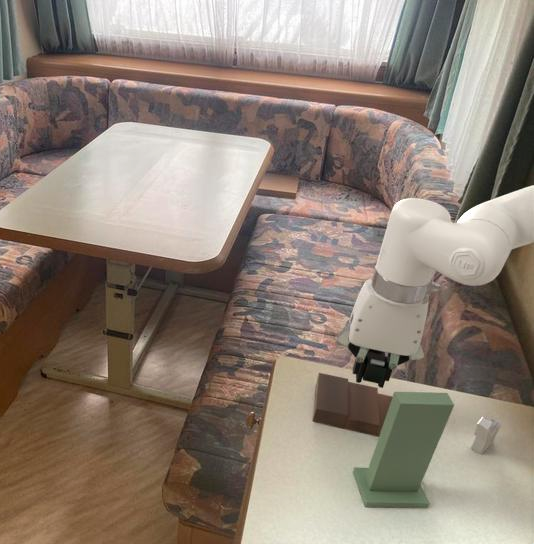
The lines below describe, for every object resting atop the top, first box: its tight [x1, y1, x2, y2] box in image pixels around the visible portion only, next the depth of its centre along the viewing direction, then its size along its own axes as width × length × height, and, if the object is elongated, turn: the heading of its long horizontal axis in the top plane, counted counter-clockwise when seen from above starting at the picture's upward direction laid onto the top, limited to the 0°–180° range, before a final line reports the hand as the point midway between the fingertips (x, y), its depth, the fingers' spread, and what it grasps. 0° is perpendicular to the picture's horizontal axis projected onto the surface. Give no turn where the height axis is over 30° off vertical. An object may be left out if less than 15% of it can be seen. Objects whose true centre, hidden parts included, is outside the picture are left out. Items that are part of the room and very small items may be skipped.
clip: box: [362, 349, 386, 385], centre depth 90 cm, size 3×5×4 cm, turn 165°
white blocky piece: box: [470, 416, 503, 455], centre depth 88 cm, size 7×2×8 cm, turn 130°
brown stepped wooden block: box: [312, 372, 393, 438], centre depth 95 cm, size 15×9×3 cm, turn 75°
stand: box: [352, 391, 455, 509], centre depth 79 cm, size 6×9×18 cm, turn 91°
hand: (369, 378), depth 92 cm, fingers closed on clip, 2 cm apart
